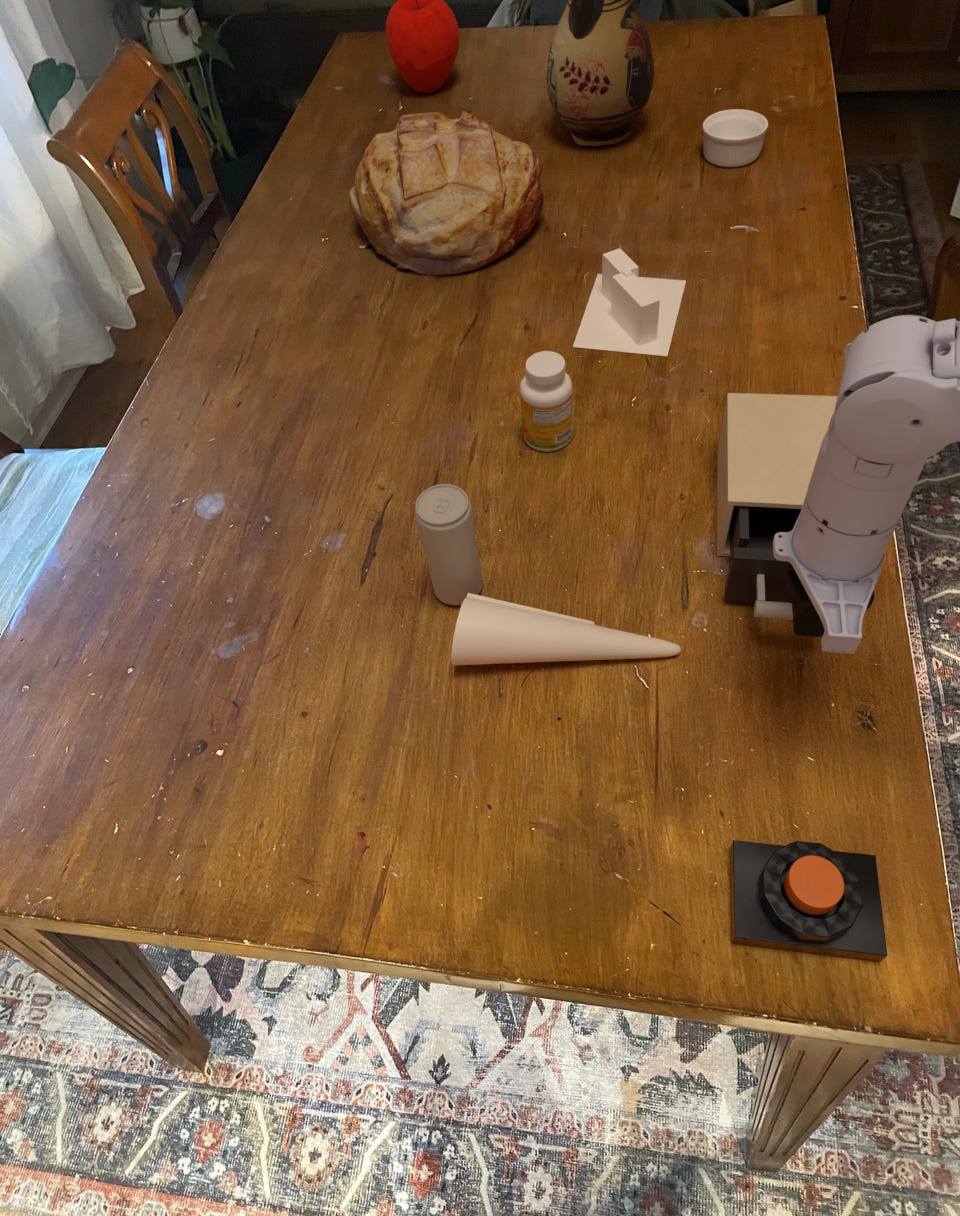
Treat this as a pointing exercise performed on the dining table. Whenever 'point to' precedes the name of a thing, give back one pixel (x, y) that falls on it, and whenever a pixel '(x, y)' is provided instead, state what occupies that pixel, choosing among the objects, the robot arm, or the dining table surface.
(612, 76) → the ceramic jug
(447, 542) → the beverage can
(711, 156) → the ramekin
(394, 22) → the apple
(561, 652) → the long cone
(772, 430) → the cabinet
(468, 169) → the bread
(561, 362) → the supplement bottle
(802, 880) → the button
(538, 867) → the dining table surface
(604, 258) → the napkin holder
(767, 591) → the drawer
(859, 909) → the panel
